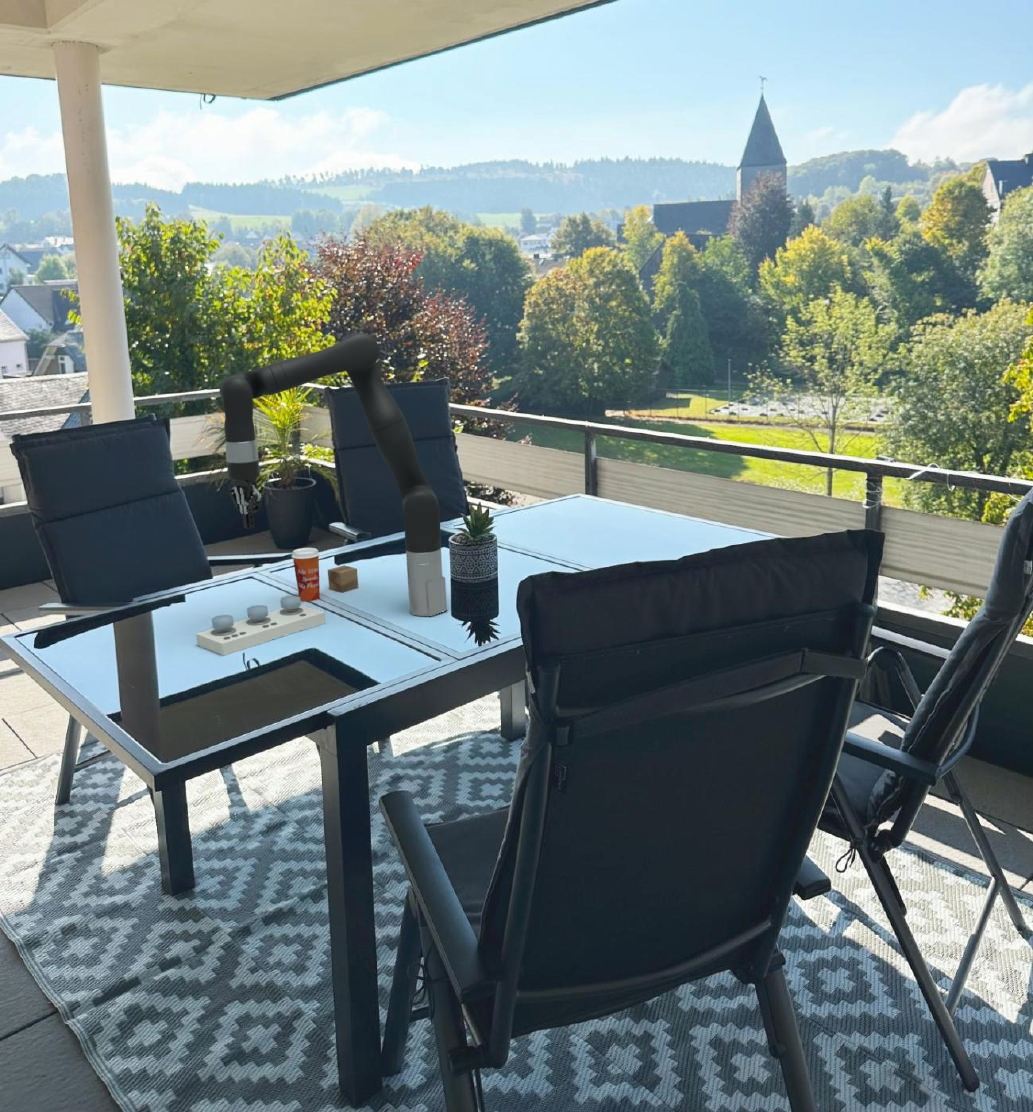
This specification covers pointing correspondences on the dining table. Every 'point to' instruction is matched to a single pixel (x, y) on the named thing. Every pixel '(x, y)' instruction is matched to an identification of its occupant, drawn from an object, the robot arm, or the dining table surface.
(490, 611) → the dining table surface
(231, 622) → the three-dot button
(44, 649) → the dining table surface
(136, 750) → the dining table surface
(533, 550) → the dining table surface
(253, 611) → the two-dot button
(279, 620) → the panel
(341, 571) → the walnut block
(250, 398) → the robot arm
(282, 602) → the one-dot button
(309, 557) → the paper cup
